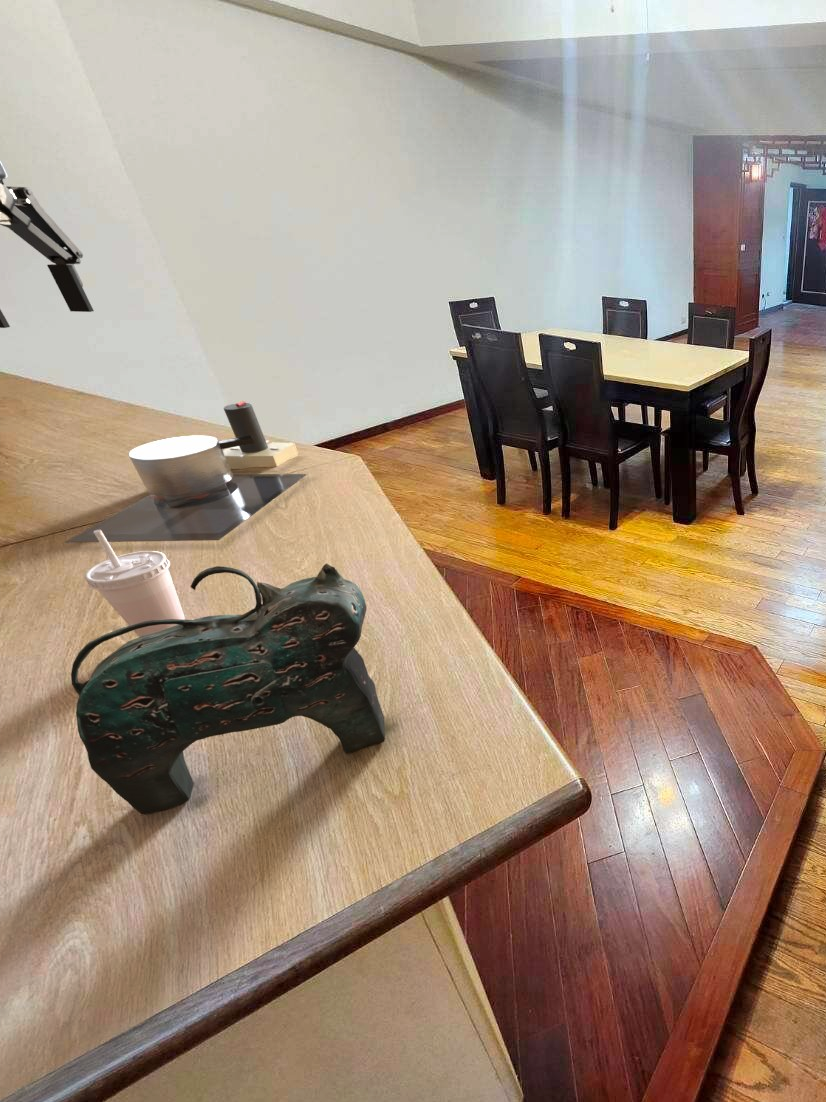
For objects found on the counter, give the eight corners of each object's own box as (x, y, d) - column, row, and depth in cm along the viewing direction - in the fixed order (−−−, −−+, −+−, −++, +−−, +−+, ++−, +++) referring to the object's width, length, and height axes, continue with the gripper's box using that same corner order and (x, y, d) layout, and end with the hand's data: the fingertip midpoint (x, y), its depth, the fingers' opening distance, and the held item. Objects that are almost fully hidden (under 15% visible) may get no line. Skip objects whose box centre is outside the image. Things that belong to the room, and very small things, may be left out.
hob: (66, 545, 82) (64, 542, 82) (187, 476, 103) (185, 474, 103) (220, 542, 84) (218, 539, 84) (308, 476, 105) (307, 473, 105)
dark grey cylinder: (260, 452, 107) (242, 407, 103) (236, 452, 106) (217, 407, 102) (272, 444, 110) (255, 401, 106) (249, 445, 110) (231, 401, 106)
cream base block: (216, 470, 106) (210, 456, 104) (244, 453, 113) (239, 440, 111) (276, 470, 107) (270, 456, 105) (300, 453, 114) (295, 440, 112)
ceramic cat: (404, 705, 59) (342, 530, 49) (407, 751, 54) (339, 568, 44) (146, 779, 51) (6, 587, 40) (122, 841, 46) (-44, 642, 36)
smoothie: (128, 636, 66) (59, 527, 59) (200, 614, 70) (144, 509, 63) (132, 664, 62) (59, 551, 55) (208, 639, 66) (150, 530, 59)
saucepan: (154, 508, 91) (132, 465, 88) (146, 486, 98) (125, 445, 94) (273, 482, 101) (257, 442, 97) (259, 463, 108) (243, 425, 104)
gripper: (-134, 133, 64) (-15, 335, 75) (66, 150, 86) (137, 306, 96) (-214, 128, 63) (-81, 334, 74) (8, 147, 85) (86, 305, 96)
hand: (42, 319), depth 85 cm, fingers open, 13 cm apart
